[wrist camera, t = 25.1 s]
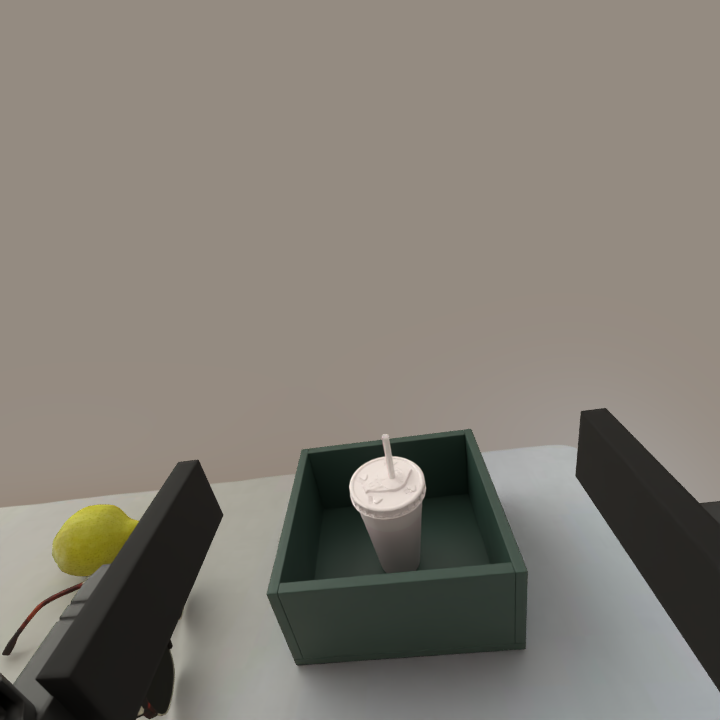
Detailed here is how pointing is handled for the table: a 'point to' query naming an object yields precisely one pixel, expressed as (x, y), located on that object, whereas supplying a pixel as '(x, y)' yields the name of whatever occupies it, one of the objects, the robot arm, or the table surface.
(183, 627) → the table surface
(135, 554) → the robot arm
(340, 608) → the bin
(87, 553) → the fruit
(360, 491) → the smoothie
